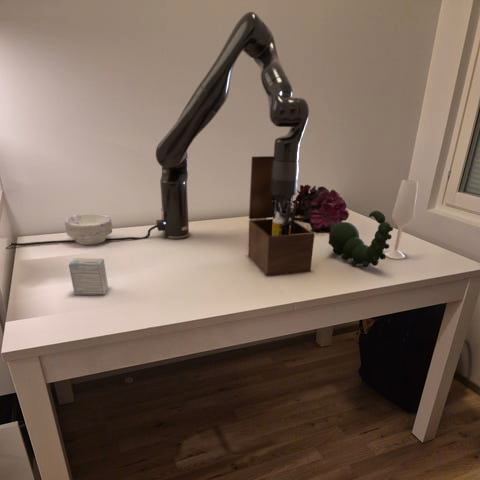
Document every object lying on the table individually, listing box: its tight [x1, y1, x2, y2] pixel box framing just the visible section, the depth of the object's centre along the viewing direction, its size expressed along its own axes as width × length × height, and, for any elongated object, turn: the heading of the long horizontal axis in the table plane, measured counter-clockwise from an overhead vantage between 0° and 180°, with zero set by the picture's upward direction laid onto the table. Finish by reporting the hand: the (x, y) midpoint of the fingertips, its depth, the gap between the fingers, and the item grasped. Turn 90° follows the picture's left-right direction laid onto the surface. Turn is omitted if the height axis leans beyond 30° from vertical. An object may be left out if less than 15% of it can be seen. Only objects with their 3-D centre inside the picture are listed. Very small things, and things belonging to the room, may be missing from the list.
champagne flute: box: [384, 179, 419, 260], centre depth 135 cm, size 7×7×24 cm
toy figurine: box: [327, 210, 394, 268], centre depth 131 cm, size 9×19×25 cm
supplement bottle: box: [272, 212, 291, 236], centre depth 126 cm, size 6×6×10 cm
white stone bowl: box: [64, 213, 113, 246], centre depth 146 cm, size 15×15×8 cm
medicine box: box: [68, 257, 109, 296], centre depth 109 cm, size 8×4×9 cm, turn 92°
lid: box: [248, 155, 294, 220], centre depth 131 cm, size 18×14×6 cm
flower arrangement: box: [292, 184, 350, 233], centre depth 170 cm, size 31×20×15 cm, turn 22°
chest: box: [247, 218, 315, 277], centre depth 129 cm, size 18×14×12 cm
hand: (280, 234), depth 127 cm, fingers closed on supplement bottle, 5 cm apart
